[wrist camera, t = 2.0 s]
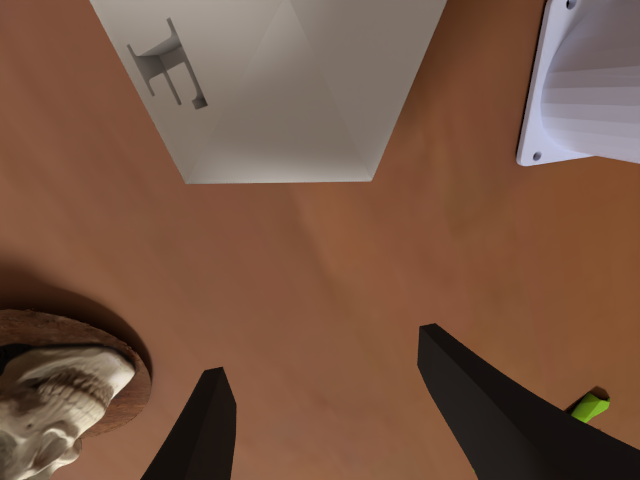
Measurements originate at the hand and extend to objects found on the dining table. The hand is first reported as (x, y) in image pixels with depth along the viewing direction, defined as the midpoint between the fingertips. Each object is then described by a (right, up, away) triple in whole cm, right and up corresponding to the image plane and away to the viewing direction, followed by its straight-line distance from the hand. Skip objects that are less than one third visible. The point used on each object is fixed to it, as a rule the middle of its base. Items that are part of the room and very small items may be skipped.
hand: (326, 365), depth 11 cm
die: (-2, +13, +3) cm, 13 cm away
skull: (-18, 0, +8) cm, 20 cm away
